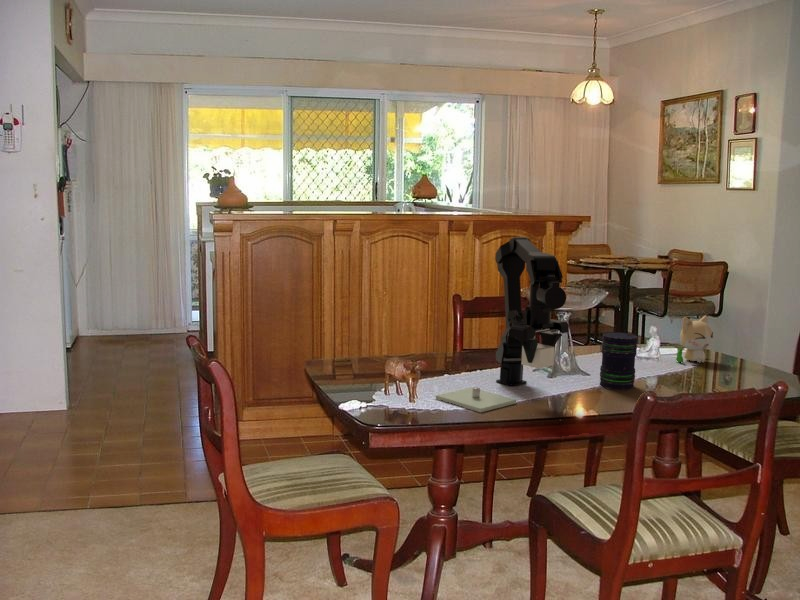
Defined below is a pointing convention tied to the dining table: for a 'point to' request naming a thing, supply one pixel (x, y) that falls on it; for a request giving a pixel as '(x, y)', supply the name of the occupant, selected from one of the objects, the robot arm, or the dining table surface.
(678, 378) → the dining table surface
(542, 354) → the block
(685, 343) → the kitten
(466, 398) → the stub plate
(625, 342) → the storage jar
